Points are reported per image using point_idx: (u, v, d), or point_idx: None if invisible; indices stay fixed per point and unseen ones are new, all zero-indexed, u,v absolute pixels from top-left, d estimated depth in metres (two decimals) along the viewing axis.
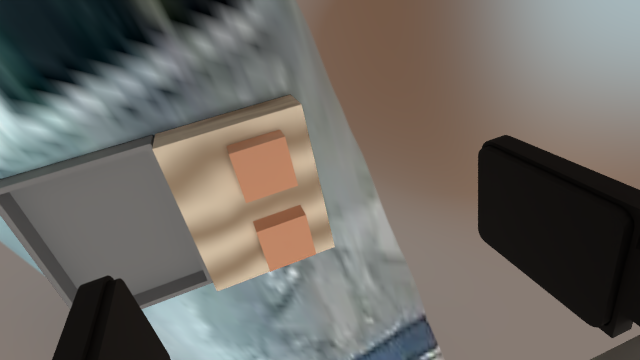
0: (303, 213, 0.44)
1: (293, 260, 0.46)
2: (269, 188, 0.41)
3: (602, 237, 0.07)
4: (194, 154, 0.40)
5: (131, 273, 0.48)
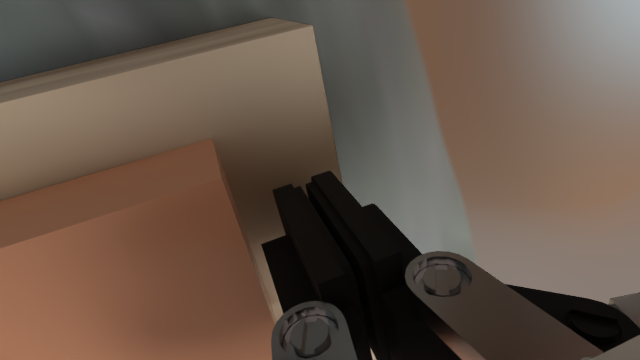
0: None
1: None
2: None
3: (360, 281, 0.07)
4: None
5: None
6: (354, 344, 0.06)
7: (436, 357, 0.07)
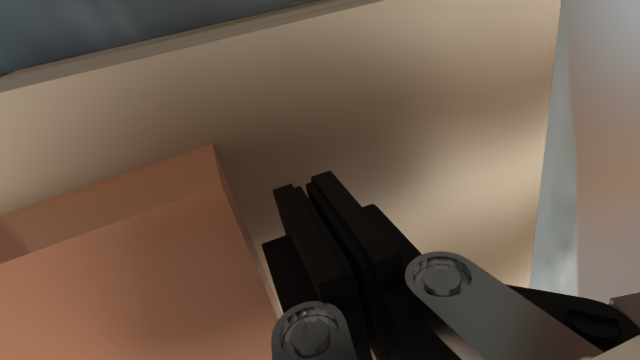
0: None
1: None
2: None
3: (360, 281, 0.07)
4: (145, 142, 0.09)
5: None
6: (354, 344, 0.06)
7: (436, 357, 0.07)
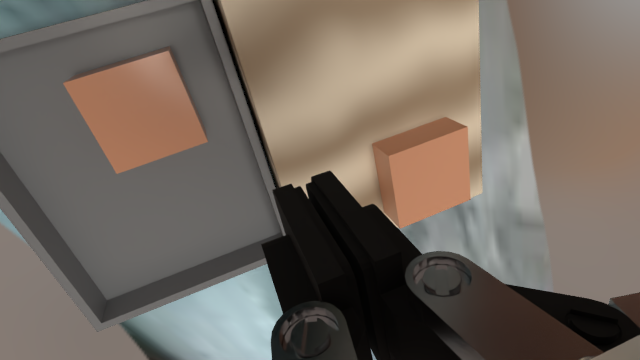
0: (461, 125, 0.26)
1: (436, 209, 0.28)
2: None
3: (360, 281, 0.07)
4: (289, 2, 0.21)
5: (167, 239, 0.30)
6: (354, 344, 0.06)
7: (436, 357, 0.07)
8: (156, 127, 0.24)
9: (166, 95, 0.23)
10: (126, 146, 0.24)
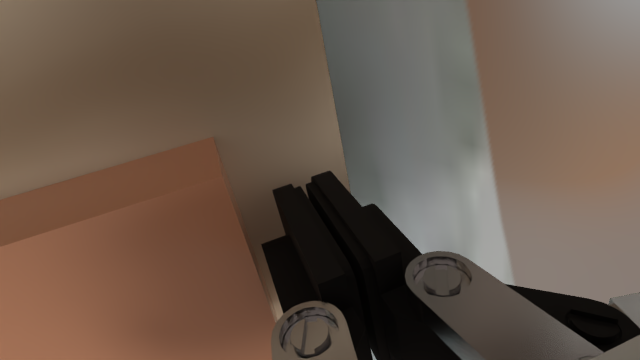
0: (212, 170, 0.08)
1: None
2: None
3: (360, 281, 0.07)
4: None
5: None
6: (354, 344, 0.06)
7: (436, 357, 0.07)
8: None
9: None
10: None
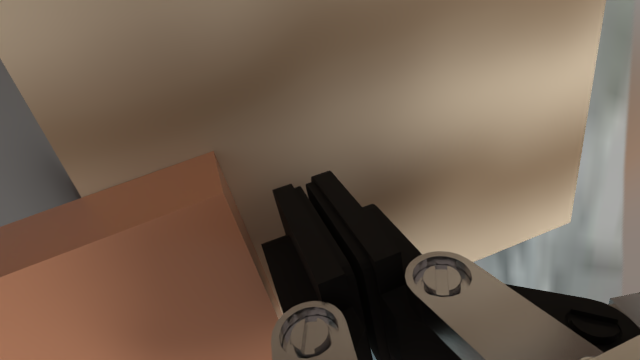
0: (213, 187, 0.08)
1: None
2: None
3: (360, 281, 0.07)
4: None
5: None
6: (354, 344, 0.06)
7: (436, 357, 0.07)
8: None
9: None
10: None
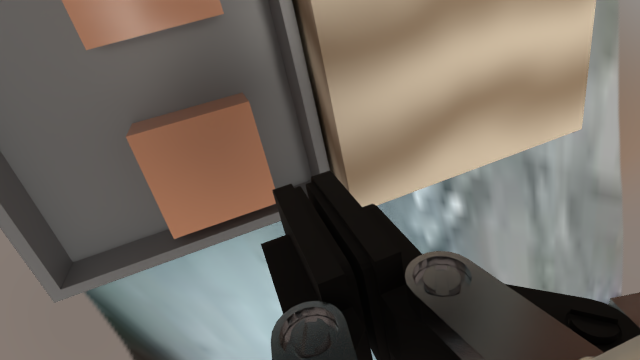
0: (134, 124, 0.20)
1: None
2: None
3: (360, 281, 0.07)
4: None
5: None
6: (354, 344, 0.06)
7: (436, 357, 0.07)
8: None
9: None
10: (101, 4, 0.16)
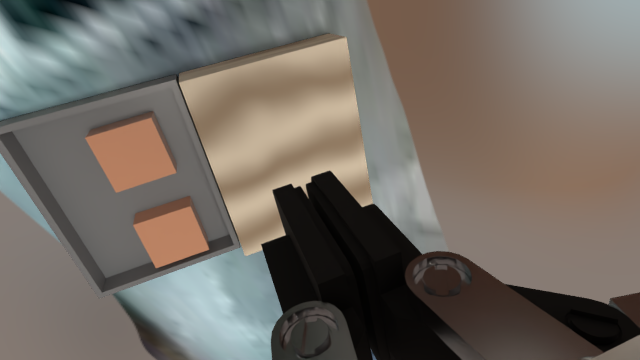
0: (136, 214, 0.41)
1: None
2: None
3: (360, 281, 0.07)
4: (226, 91, 0.35)
5: None
6: (354, 344, 0.06)
7: (436, 357, 0.07)
8: (142, 163, 0.37)
9: (149, 144, 0.36)
10: (123, 175, 0.37)
